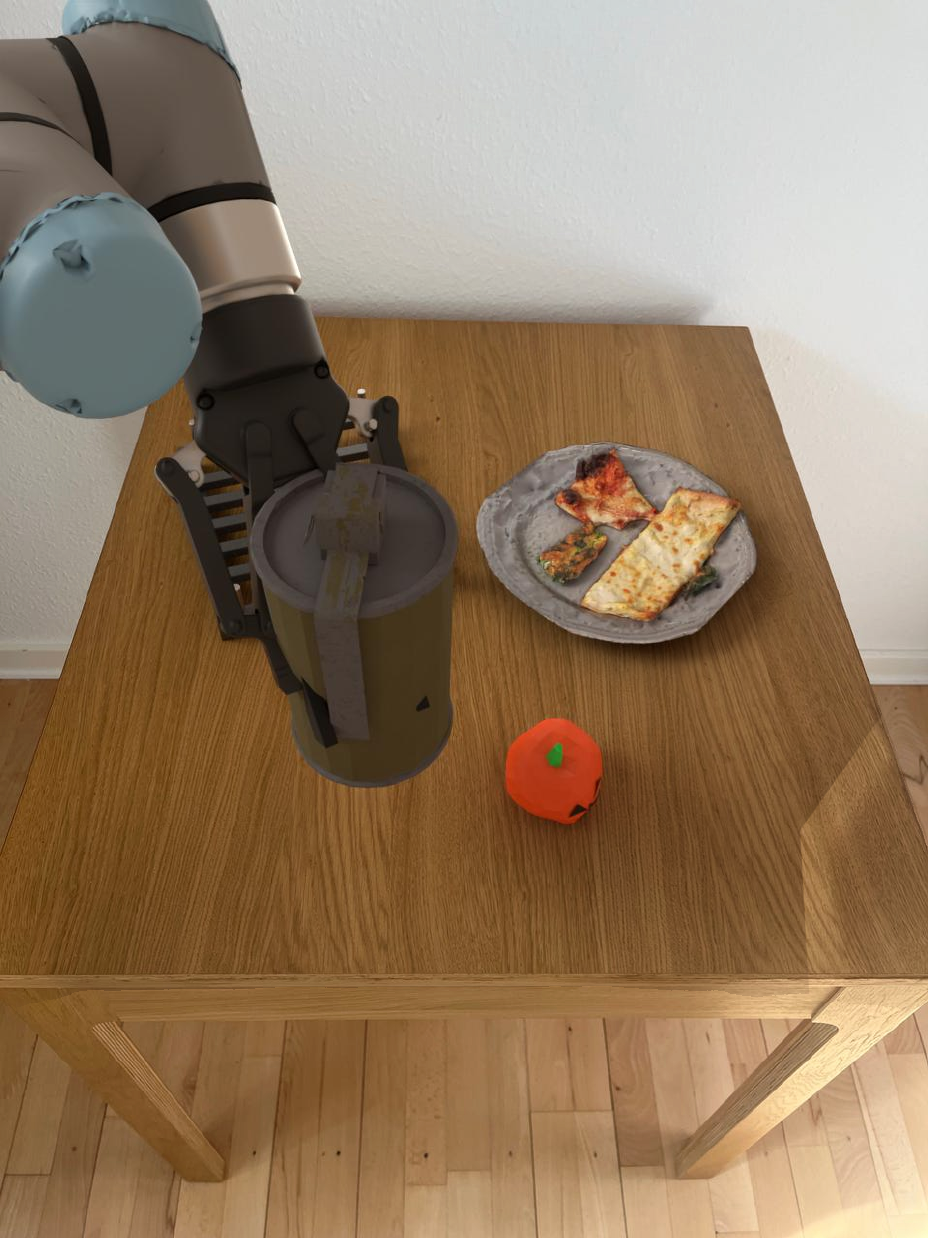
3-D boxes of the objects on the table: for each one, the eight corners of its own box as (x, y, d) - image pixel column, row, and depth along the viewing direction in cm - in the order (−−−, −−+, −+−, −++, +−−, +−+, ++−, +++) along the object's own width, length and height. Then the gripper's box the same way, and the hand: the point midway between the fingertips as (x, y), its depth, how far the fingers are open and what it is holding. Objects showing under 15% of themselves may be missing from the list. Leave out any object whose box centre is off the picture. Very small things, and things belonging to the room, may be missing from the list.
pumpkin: (601, 749, 73) (615, 703, 68) (593, 843, 68) (607, 801, 63) (510, 733, 74) (517, 687, 69) (495, 826, 69) (501, 783, 64)
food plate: (593, 426, 97) (598, 398, 94) (793, 538, 88) (805, 512, 85) (429, 556, 85) (430, 529, 82) (642, 703, 76) (650, 678, 73)
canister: (308, 645, 64) (266, 415, 48) (460, 658, 64) (468, 430, 48) (274, 788, 57) (213, 574, 42) (444, 803, 57) (447, 593, 41)
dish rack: (222, 640, 78) (210, 597, 74) (182, 467, 91) (170, 422, 87) (450, 586, 83) (451, 543, 78) (381, 429, 96) (379, 384, 91)
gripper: (375, 292, 55) (487, 662, 59) (65, 367, 50) (212, 769, 54) (412, 254, 48) (537, 676, 52) (57, 336, 43) (227, 801, 47)
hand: (372, 722), depth 53 cm, fingers closed on canister, 5 cm apart
